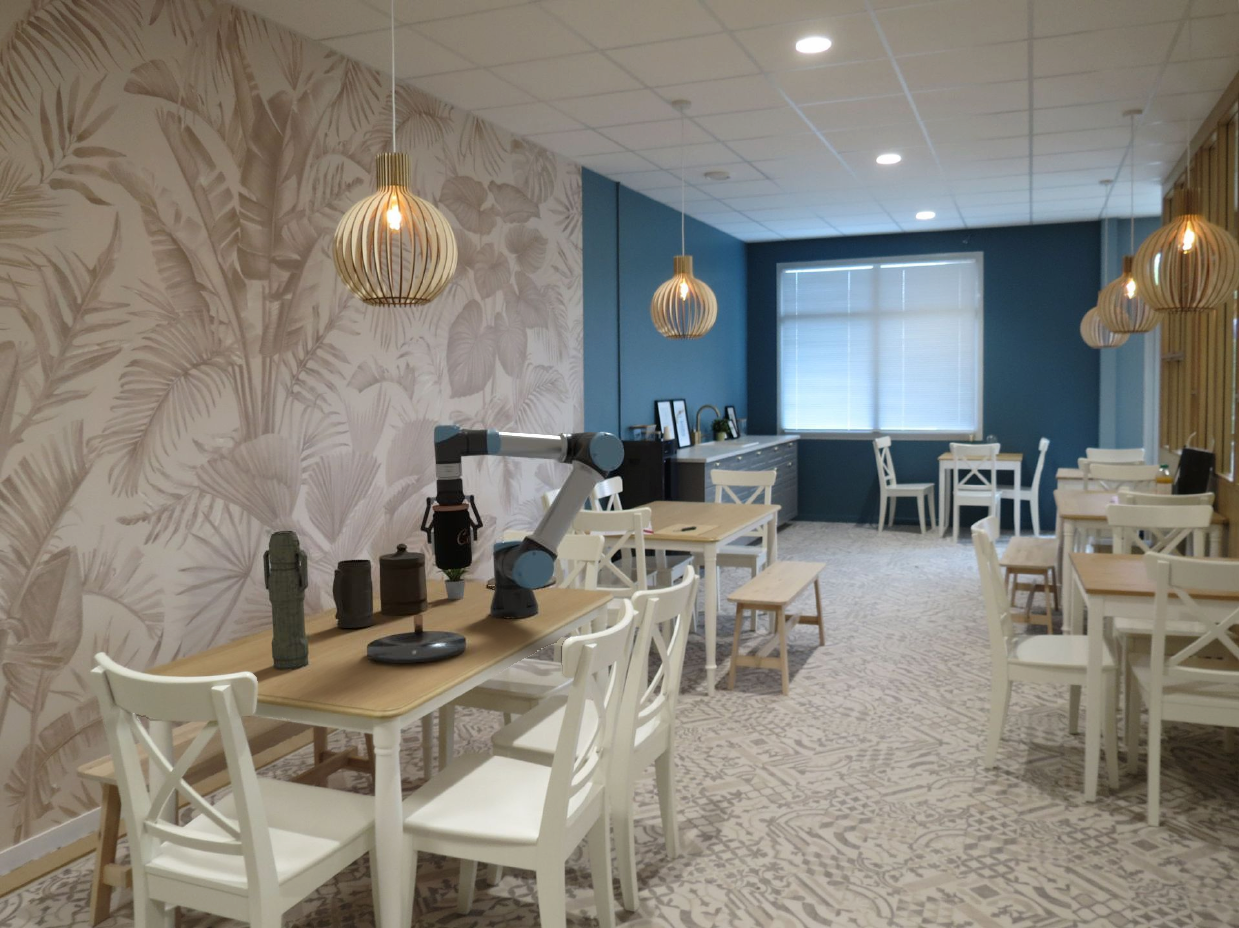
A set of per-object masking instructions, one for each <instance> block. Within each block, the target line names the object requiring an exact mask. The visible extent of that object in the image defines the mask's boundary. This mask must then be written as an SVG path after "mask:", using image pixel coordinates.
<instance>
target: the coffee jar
mask: <svg viewBox="0 0 1239 928" xmlns="http://www.w3.org/2000/svg"><path fill="white" fill-rule="evenodd" d="M469 508H470V503H466V502H465V503H464V502H463V503H462V504H461V505H458V506H456V505H454V506H442V507H440V505H439V504H434V505H431V509H432V511H433V514H432V520H433V529H432V530H433V532H434V547H435V555H434V560H435V562H434V563H435V565H436V566H437V567H436V566H435V567H436V568H437V569H439V570H441V569H444V570H449V571H451V570H453V569H461V570H462V569H464V568H470V567H471V565H472V563H473V554H472V550H471V530H472V527H471V526H470V518H469V517H471V513H470V511H469Z"/></svg>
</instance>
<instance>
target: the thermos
mask: <svg viewBox="0 0 1239 928" xmlns="http://www.w3.org/2000/svg"><path fill="white" fill-rule="evenodd" d="M262 556H263V558H262V560H263V576H264V586H265V590H268V599H269V602H270V603H271V616H272V618H271V619H272V620H271V621H272V633H273V634H272V635H273V636H272V641H271V655H272V659H273V669H275V670H277V671H278V670H279V671H288V670H289V669H291V670H296V669H295V668H298V669H301V667H302V668H304V667H307V666H308V665H309V664H308V663H309V639H308V636H307V633H306V621H305V608H304V607H305V603H304V601H305V599H306V589H308V588H309V578H308V577H309V576H308V573H309V572H308V554H307V553H306V551H305V550H304V549H301V542H300V539H299V537H298V534H297V532H295V531H293V530H280V531H279V530H278V531H275V532H273V533H271V535H270V538H269V541H268V549H267V550H265V551H264V553H263V555H262ZM306 665H307V666H306ZM303 666H304V667H303ZM289 671H290V670H289Z"/></svg>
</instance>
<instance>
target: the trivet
mask: <svg viewBox="0 0 1239 928" xmlns="http://www.w3.org/2000/svg"><path fill="white" fill-rule="evenodd" d="M486 582H487V587H488V588H489V587H490V588H489V589H491V588H494V589H493V590H495V586H488V585H495V579H494V577H493V578H490V579H488V580H487V581H486ZM556 583H557V577H556V576H555V575H553V576H552V578H551V579H550V581H549V582H548V583H547V584H545V585H544V586H542V587H540V589H545V588H548V587H552V586H554V585H556ZM534 590H538V589H537V588H535V589H534Z"/></svg>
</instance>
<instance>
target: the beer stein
mask: <svg viewBox="0 0 1239 928" xmlns="http://www.w3.org/2000/svg"><path fill="white" fill-rule="evenodd" d="M336 568H337V569H336ZM336 568H335V570H334V571H333V572H334V574H333V575H334V576H333V583H332V597H333V601H334V604H335V607H336V613H335V615H334V619H335V620H337V624H336V626H337V627H338V628H346V629H348V628H349V629H351V628H364V627H370V626H373V625H374V617H373V614H374V596H373V595H374V593H373V591H374V589H373V588H374V587H373V580H372V562H371V559H346V560H341V561H338V563H337V567H336Z"/></svg>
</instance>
